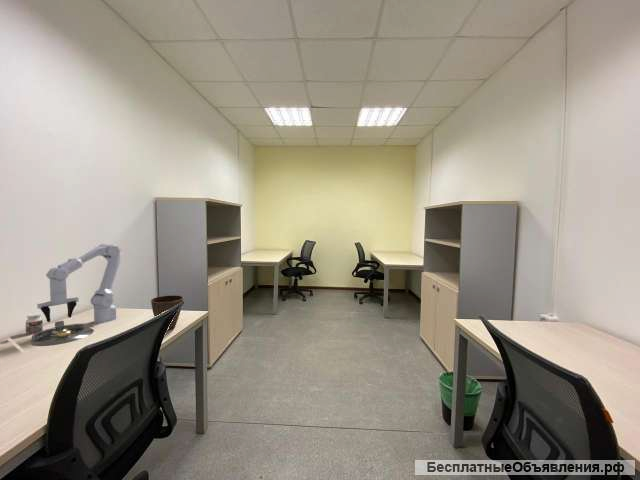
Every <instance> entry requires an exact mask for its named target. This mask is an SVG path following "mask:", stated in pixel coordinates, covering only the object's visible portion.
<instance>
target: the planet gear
mask: <svg viewBox="0 0 640 480" xmlns="http://www.w3.org/2000/svg"><path fill="white" fill-rule="evenodd" d="M64 325H65V321H64V320H59V321H55V322H54V327H55V330H53V331H52V335H57V332H60V331H64V330H67V328H64Z"/></svg>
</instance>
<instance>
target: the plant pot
mask: <svg viewBox="0 0 640 480" xmlns="http://www.w3.org/2000/svg"><path fill="white" fill-rule="evenodd" d="M183 300H184V297H183V296H181V295H178V294H177V295H176V294H175V295H173V294H172V295H163V296H157V297H153V298H152V299H150V303H151V309H152V314H153V317H154V318H155V316H157V315H159V314H161V313H162V312H164V311H166V310H168V309H170V308H172V307H174V306H175V305H177V304H179V303H180V302H182V303H183ZM181 310H182V307H181V308H180V309H179V311H178V312H177V314H176V315H175V317H174V319H173V321H172V322H171V324H170V326H169V329H168V330H167V331H169V330H173V329H175V328H176V325H177V323H178V321H179V316H180V315H181Z"/></svg>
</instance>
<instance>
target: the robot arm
mask: <svg viewBox="0 0 640 480" xmlns="http://www.w3.org/2000/svg"><path fill="white" fill-rule="evenodd" d="M96 257H103V258H105V260H106V261H107V263H106V267H105V270H104V273H103V277H102V279H101V282H100V286H99V288H98V289H97V290H96V291H95V292H94V294H93V296H92V297H91V298H90V304H91V305H93V324H94V323H95V324H103V323H107V322H110V321H114V320H117V308H116V306H115V304H113V303H114V292H113V290H112V288H113V285H114V283H115V279H116V276H117V272H118V270H119V266H120V264H121V248H120V247H119V246H118V245H116V244H107V243H106V244H105V243H101V244H99V245H97V246H95V247H94V248H92V249H90V250H89V251H88V252H86V253H84V254H82V255H81V256H79V257H78V258H75V257H73V258H68V259H67V261H66V262H64V263H62V264H59V265H57V267H52V268H50V269H48V271H47V273H46V275H45V277H47V278H48V279H49V297H50V300H49V301H46V302H42V303H37V304H36V305H37V310H38V309H40V311H41V312H42V313H43V315H44V316H45V319H46V322H47V323H51V308H50V307H55V306H60V305H67V306H66V309H67V317H68V318H72V315H73V311H74V310H75V307H76V306H77V302H79V297H77V296H76V297H70V298H67V295H68V294H67V278H68V277H69V275H70V274H72V273H74V272H76V271H77V270H79V269H81V268H82V267H83V264H85V263H86V262H90V260H93V259H94V258H96Z"/></svg>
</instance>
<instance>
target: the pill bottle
mask: <svg viewBox="0 0 640 480" xmlns="http://www.w3.org/2000/svg"><path fill="white" fill-rule="evenodd" d="M26 318H27V319H26V321H25V335H26V336H27V335H28V336H29V335H34V334H36V333H38V332H40V331H43V330H44V329H43V326H44V325H43V323H44V322H43V317H42V313H41V312H37V313H30V314H27V316H26Z"/></svg>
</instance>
